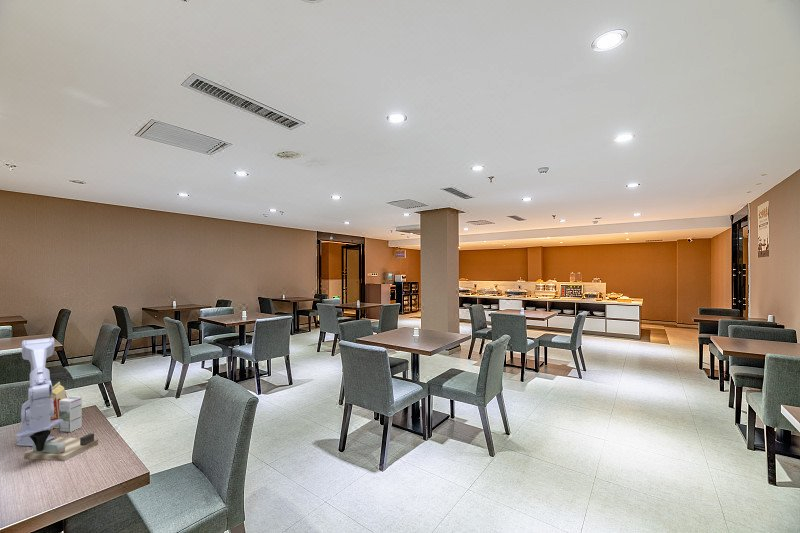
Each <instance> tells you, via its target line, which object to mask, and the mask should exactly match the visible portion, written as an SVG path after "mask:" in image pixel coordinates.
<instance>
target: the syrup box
mask: <svg viewBox="0 0 800 533" xmlns="http://www.w3.org/2000/svg"><path fill="white" fill-rule="evenodd" d="M82 402H83V401H82V396H68V397H67V398H64V399H62V400H59V419H62V420H63V424H62V425H59V428H58V429H59V430H58V431H59V433H72V432H74V430H75V431H77V430H78V428H79V429H81V428H83V426H82V425H83V423H82V422H83V421H82V420H83V419H82V418H83V417H82V415H83V414H82V411H83V410H82V407H83V406H82V404H83V403H82ZM80 427H81V428H80ZM76 429H77V430H76Z"/></svg>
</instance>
